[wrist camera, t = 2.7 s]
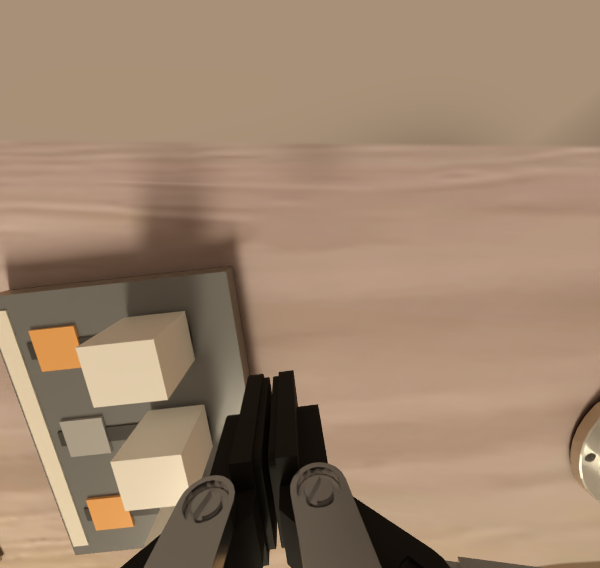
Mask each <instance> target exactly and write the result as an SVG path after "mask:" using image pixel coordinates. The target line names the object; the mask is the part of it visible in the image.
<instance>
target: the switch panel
mask: <svg viewBox="0 0 600 568" xmlns="http://www.w3.org/2000/svg"><path fill="white" fill-rule="evenodd" d="M179 311H185V314H186V319H187V323H188V328H189V333H190V338H191V343H192V348H193V353H194V357H195V360H194V362H193V363H192V365H191V366H190V368H189V369H188V371H187V372H186V374H185V375H184V377H183V378H182V380H181V381H180V383H179V384H178V386H177V387H176V389H175V390H174V392H173V393H172V395H171V396H170V398H169V399H168V400H162V401H153V402H143V403H134V404H124V405H115V406H106V407H96V408H94V407H93V404H92V401H91V397H90V394H89V391H88V388H87V384H86V381H85V378H84V374H83V371H82V368H81V365H80V361H79V358H78V355H77V352H76V347H77V346H79V345H80V344H82V343H84V342H85V341H87V340H89V339H90V338H92V337H93V336H95V335H97V334H98V333H100V332H101V331H103V330H105V329H106V328H108V327H110V326H111V325H113V324H114V323H116V322H118V321H119V320H121V319H122V318H124V317H133V316H142V315H151V314H161V313H170V312H179ZM0 352H1V355H2V358H3V360H4V363H5V366H6V369H7V371H8V374H9V377H10V379H11V382H12V385H13V387H14V390H15V393H16V396H17V398H18V401H19V404H20V406H21V409H22V412H23V414H24V417H25V420H26V423H27V425H28V428H29V431H30V433H31V436H32V439H33V441H34V444H35V447H36V450H37V452H38V455H39V458H40V460H41V463H42V466H43V468H44V471H45V474H46V477H47V479H48V482H49V485H50V487H51V490H52V493H53V495H54V498H55V501H56V504H57V506H58V509H59V512H60V514H61V517H62V520H63V522H64V525H65V528H66V531H67V533H68V536H69V539H70V541H71V544H72V547H73V549H74V552H75V555H80V554H90V553H99V552H109V551H119V550H128V549H138V548H143V546H144V544H145V542H146V539H147V537H148V535H149V533H150V530H151V528H152V526H153V524H154V522H155V519H156V517H157V515H158V513H159V510H160V508H151V509H142V510H132V511H125V509H124V505H123V502H122V499H121V496H120V492H119V489H118V486H117V483H116V479H115V476H114V473H113V469H112V466H111V463H110V462H111V460H112V459H113V458H114V456H115V455H116V453H117V452H118V451H119V449H120V448H121V447H122V445H123V444H124V443H125V441H126V440H127V439H128V437H129V436H130V434H131V433H132V432H133V430H134V429H135V428H136V426H137V425H138V424H139V422H140V421H141V419H142V418H143V417H144V415H145V414H146V413H147V411H148V410H157V409H167V408H176V407H186V406H195V405H204V406H205V411H206V416H207V421H208V425H209V430H210V435H211V440H212V445H213V447H212V450H211V453H210V456H209V459H208V461H207V464H206V467H205V470H204V473H203V476H202V478H205V477H207V476H210V473H211V469H212V466H213V462H214V459H215V455H216V452H217V448H218V444H219V441H220V437H221V434H222V430H223V427H224V423H225V420H226V417H227V416H228V415H235V414H240V410H241V405H242V401H243V396H244V392H245V387H246V383H247V378H248V376H250V373H249V367H248V361H247V355H246V349H245V342H244V336H243V330H242V324H241V318H240V311H239V305H238V299H237V293H236V287H235V280H234V274H233V268H232V266H228V267H218V268H209V269H200V270H191V271H181V272H172V273H163V274H153V275H144V276H135V277H126V278H116V279H107V280H98V281H89V282H79V283H70V284H61V285H52V286H42V287H33V288H24V289H15V290H7V291H4V292H0Z"/></svg>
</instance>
